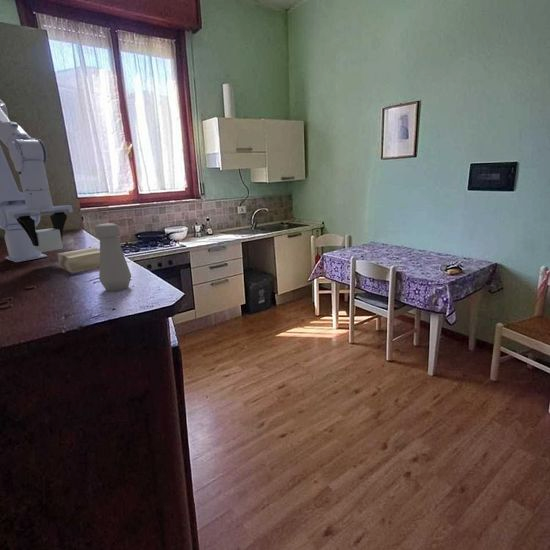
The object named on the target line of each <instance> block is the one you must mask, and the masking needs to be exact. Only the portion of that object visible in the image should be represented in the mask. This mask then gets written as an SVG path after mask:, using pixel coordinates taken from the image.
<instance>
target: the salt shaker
mask: <svg viewBox="0 0 550 550" xmlns="http://www.w3.org/2000/svg"><path fill="white" fill-rule="evenodd" d="M94 235H95V236H96V238H98V239H99V249H100V267H99V275H98V276H99V277H98V278H99V282H100V283H101V285H102V286H103V288H104V289H105V291H106V292H112V293H113V292H119V291H124V290H126V289H128V288H129V286H130V282H131V280H132V273H131V271H130V268H129V265H128V263H127V260H126V257H125V254H124V252H123V249H122V247H121V243H120V241H119V238H118V236H119V235H120V228H119V225H117V224H116V223H113V222H108V223H107V222H106V223H101V224H97V225H96V226H94Z"/></svg>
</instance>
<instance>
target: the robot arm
mask: <svg viewBox="0 0 550 550" xmlns="http://www.w3.org/2000/svg"><path fill="white" fill-rule="evenodd" d="M8 111H9V110H8V108H7V106H6V104H5V102H4V101H2V99H0V141H1V142H2V143H3V144H4V145H5V146H6V147H7V149H8V153H9V157H10V159H11V161H12V163H13V166H14V169H15V171H16V172H17V174H18V176H19V180H20V185H21V189H22V191H20V190H19V188H18V185H17V183H16V180H15V178H14V175H13V173H12V170H11V169H10V165H9V163H8V161H7V159H6V155H5V153H4V151H3V147H2V146H1V144H0V229H2V230H4V232H5V233H4V241H5V244H6V249H7V253H8V256H5V257H4V258H5V259H6V260H9V261H12V262H14V263H20V262H26V261H31V260H36V259H40V258H42V259H43V258H47V257H48V255H47V254H44V253H42V252H40V251H37V250H35V247H34V246H39V243H38V239H37V235H36V230H37V229H36V227H38V225H39V223H40V221H41V217H42V216H49V218H50V220H51V223H52V224H51V225H52V227H53V229H59V230H60V234H61V239H62V240H63V236H64V228H65V224H66V222H67V218H68V216H67V214H70V213H74V210H73V206H72V204H71V205H70V204H68V205H55V206H54V204H53V200H52V195H51V191H50V187H49V181H48V177H47V172H46V165H45V163H46V162H47V160H48V155H47V154H48V153H47V149H46V146H45V144H44V142H43V140H41V139H39V138H33V137H31V136H30V135H29V134H28V133H27V132H26V131H25V130H24V129H23V127H22V126H21V125H19V124H18V123H17V122H15V121H11V120H10V119H9V112H8Z"/></svg>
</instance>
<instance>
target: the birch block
mask: <svg viewBox="0 0 550 550" xmlns="http://www.w3.org/2000/svg"><path fill="white" fill-rule="evenodd" d="M56 255H57V259H58V264H59V268H61V269H62V270H64V271H67V272H68V273H71V274H75V273H80V272H85V271H88V270H95V269H100V248H98V247H94V246H93V247H87V248H82V249H75V250H69V251H64V252H58V253H56Z"/></svg>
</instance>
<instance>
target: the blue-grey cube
mask: <svg viewBox="0 0 550 550" xmlns="http://www.w3.org/2000/svg"><path fill="white" fill-rule="evenodd" d="M36 235H37V239H38V243H39V246H34V247H35V250H37V251H40V252H41V253H45V252H51V251H52V252H53V251H57V250H63V249H64V245H63V238H62V239H61V234H60V230H59V229H54V227H53V228H52V227H51V228H45V229H36Z"/></svg>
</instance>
